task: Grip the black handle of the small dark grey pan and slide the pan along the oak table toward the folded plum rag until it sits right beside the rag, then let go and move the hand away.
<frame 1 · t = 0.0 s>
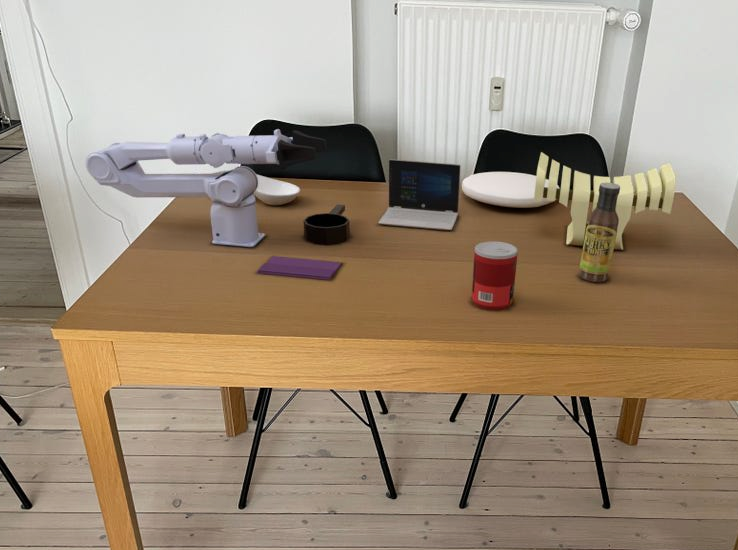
hand: (320, 149, 151), 22 cm above the table, tool horizontal, fingers open, 7 cm apart
sauce bottle: (593, 279, 153), on the table
pan: (327, 237, 168), on the table
canned food: (491, 303, 140), on the table
slatted curved stool: (594, 240, 174), on the table
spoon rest: (255, 200, 189), on the table
laptop: (419, 221, 180), on the table
plate: (509, 200, 199), on the table
rag: (300, 268, 151), on the table
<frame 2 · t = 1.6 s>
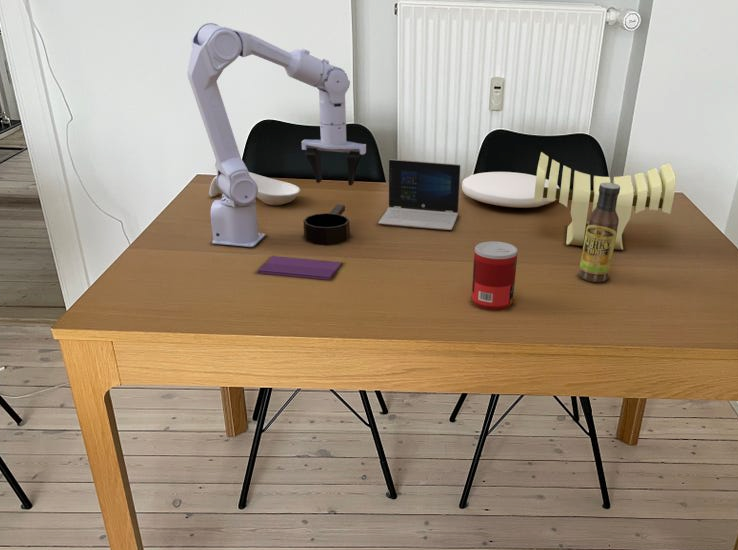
hand: (335, 182, 169), 10 cm above the table, tool pointing down, fingers open, 7 cm apart
nothing on the table moved.
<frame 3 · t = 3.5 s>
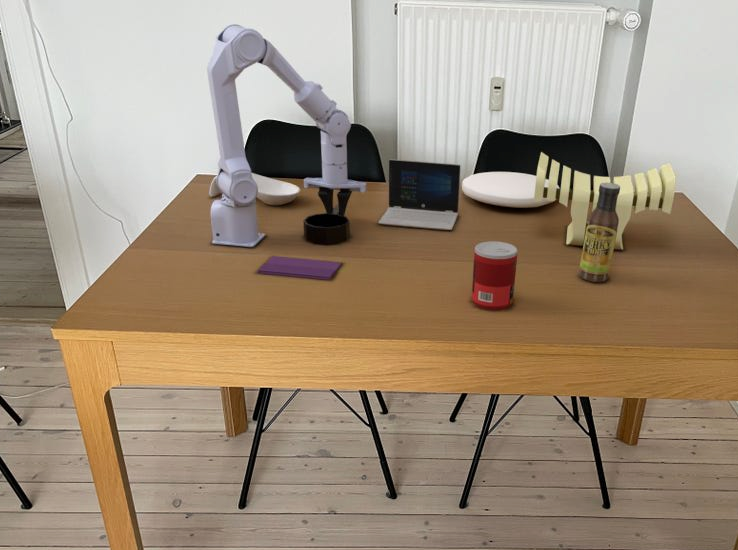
hand: (336, 219, 174), 2 cm above the table, tool pointing down, fingers closed on pan, 2 cm apart
pan: (327, 237, 168), on the table, touching gripper
everything else where it was.
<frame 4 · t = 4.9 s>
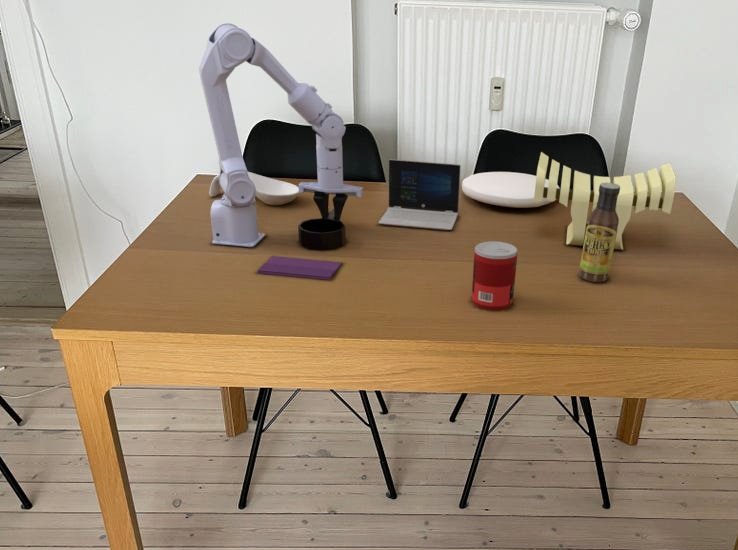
hand: (332, 224, 170), 2 cm above the table, tool pointing down, fingers closed on pan, 2 cm apart
pan: (322, 242, 164), on the table, touching gripper
everything else where it was.
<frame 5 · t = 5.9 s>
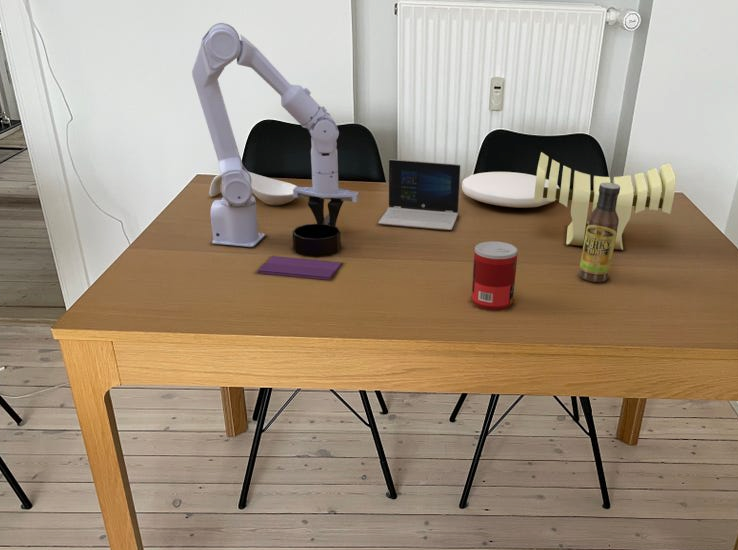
hand: (327, 229, 167), 2 cm above the table, tool pointing down, fingers closed on pan, 2 cm apart
pan: (317, 248, 161), on the table, touching gripper
everything else where it was.
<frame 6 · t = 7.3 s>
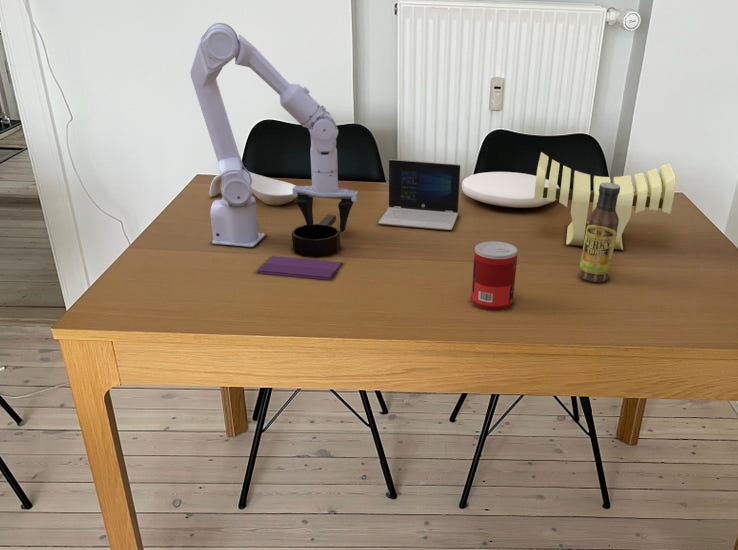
hand: (326, 229, 167), 2 cm above the table, tool pointing down, fingers open, 7 cm apart
pan: (316, 249, 161), on the table
everything else where it was.
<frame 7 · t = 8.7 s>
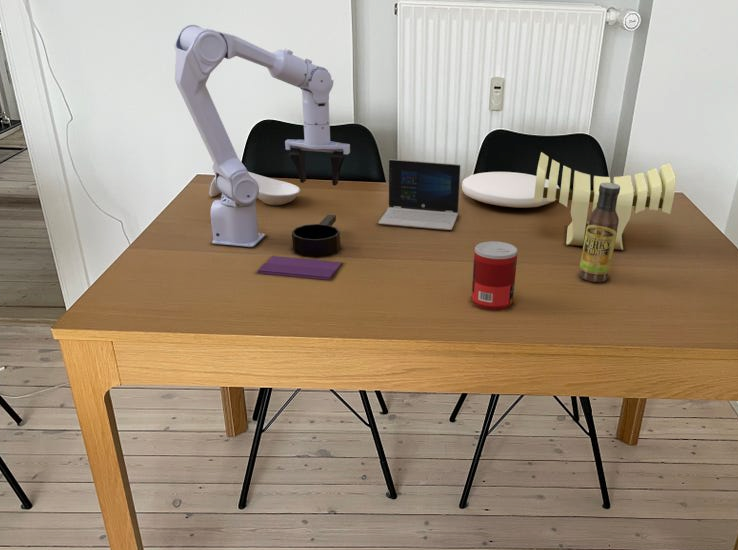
hand: (319, 182, 169), 10 cm above the table, tool pointing down, fingers open, 7 cm apart
nothing on the table moved.
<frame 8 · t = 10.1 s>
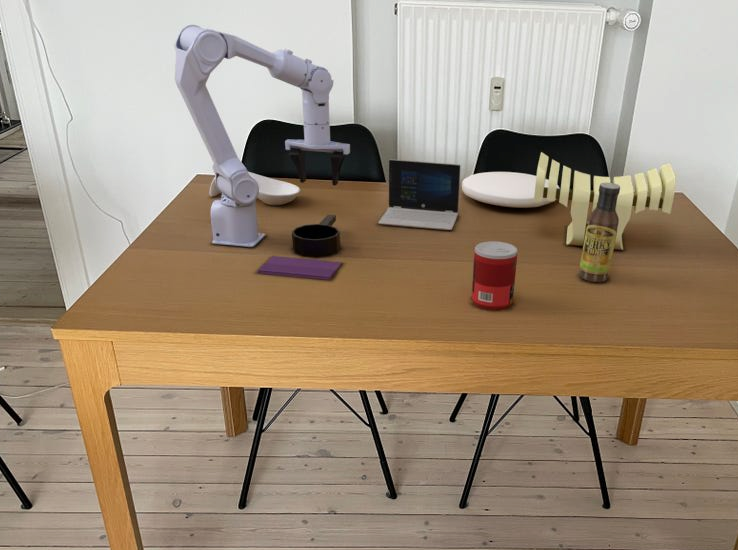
hand: (319, 182, 169), 10 cm above the table, tool pointing down, fingers open, 7 cm apart
nothing on the table moved.
at the end: pan 0.3 cm from the target spot, on the table; pan tilted 0°; the gripper is holding nothing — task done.
